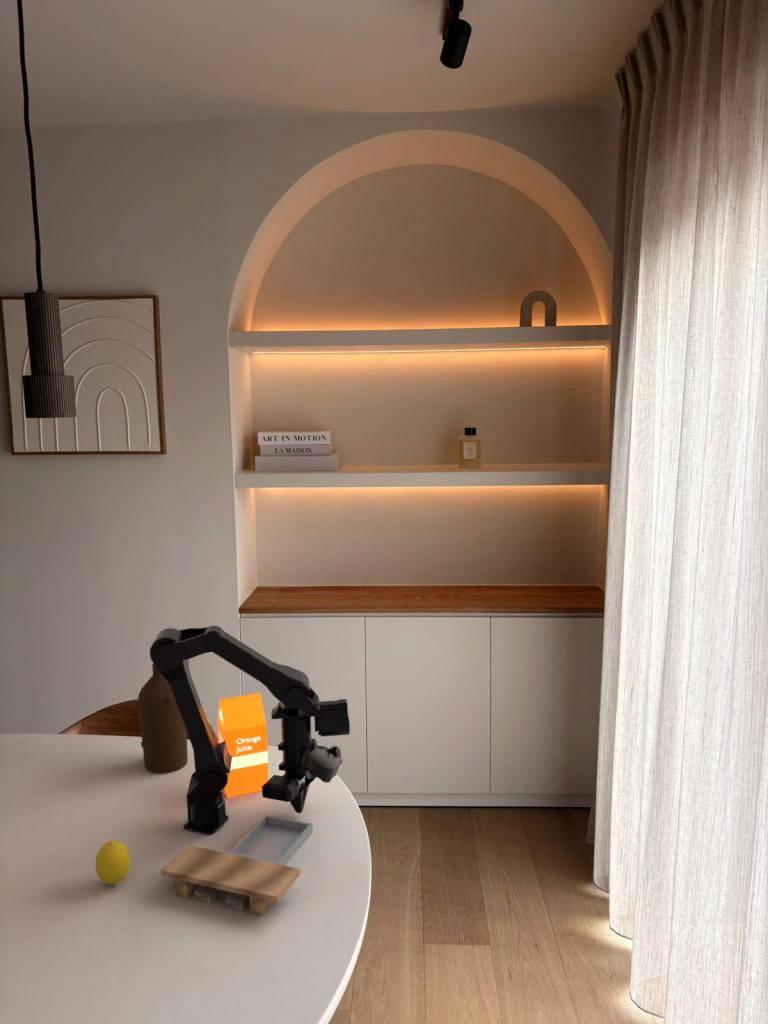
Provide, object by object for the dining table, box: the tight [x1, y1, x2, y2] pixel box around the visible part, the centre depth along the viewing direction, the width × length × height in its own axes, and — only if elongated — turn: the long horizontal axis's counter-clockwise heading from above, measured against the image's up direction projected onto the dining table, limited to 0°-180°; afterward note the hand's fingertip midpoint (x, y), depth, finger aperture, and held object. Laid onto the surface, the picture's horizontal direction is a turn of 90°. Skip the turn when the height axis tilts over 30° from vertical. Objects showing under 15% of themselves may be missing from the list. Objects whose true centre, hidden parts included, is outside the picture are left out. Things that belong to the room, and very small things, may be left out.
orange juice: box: [216, 692, 269, 798], centre depth 171 cm, size 8×9×20 cm
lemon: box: [95, 840, 131, 886], centre depth 138 cm, size 6×6×8 cm
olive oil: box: [137, 662, 188, 774], centre depth 181 cm, size 11×11×25 cm
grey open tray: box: [228, 814, 314, 866], centre depth 149 cm, size 10×14×2 cm
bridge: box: [160, 844, 301, 917], centre depth 136 cm, size 22×8×4 cm, turn 69°
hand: (299, 812), depth 159 cm, fingers closed
